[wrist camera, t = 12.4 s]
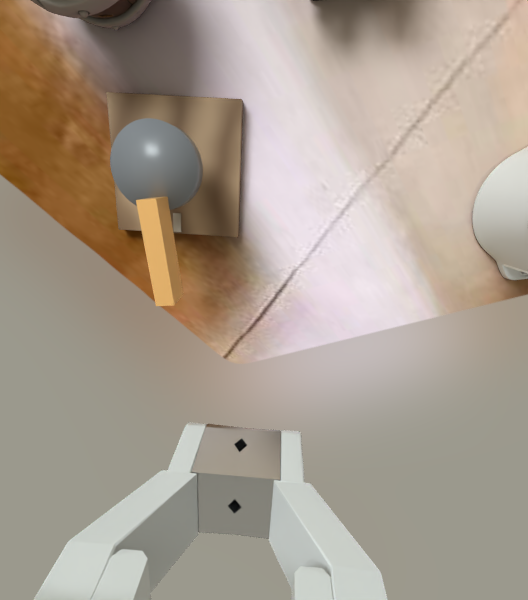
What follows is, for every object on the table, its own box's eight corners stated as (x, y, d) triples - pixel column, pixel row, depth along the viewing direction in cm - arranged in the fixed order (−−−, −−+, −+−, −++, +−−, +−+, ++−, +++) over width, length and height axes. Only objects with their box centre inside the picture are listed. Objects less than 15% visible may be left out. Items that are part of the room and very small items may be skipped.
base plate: (243, 101, 41) (241, 98, 39) (238, 235, 46) (237, 237, 45) (112, 94, 41) (105, 91, 40) (123, 227, 47) (118, 229, 45)
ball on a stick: (115, 126, 37) (81, 116, 31) (196, 119, 36) (179, 107, 30) (147, 289, 43) (124, 307, 37) (217, 285, 42) (206, 303, 36)
